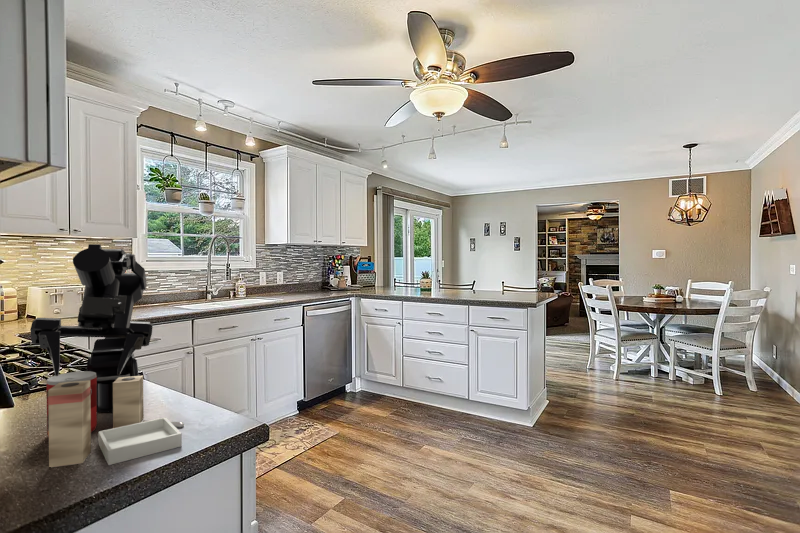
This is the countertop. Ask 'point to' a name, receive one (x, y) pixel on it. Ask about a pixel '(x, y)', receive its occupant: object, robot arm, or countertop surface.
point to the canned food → (72, 378)
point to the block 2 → (127, 401)
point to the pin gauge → (175, 424)
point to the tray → (138, 440)
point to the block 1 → (69, 423)
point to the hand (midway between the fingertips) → (88, 374)
